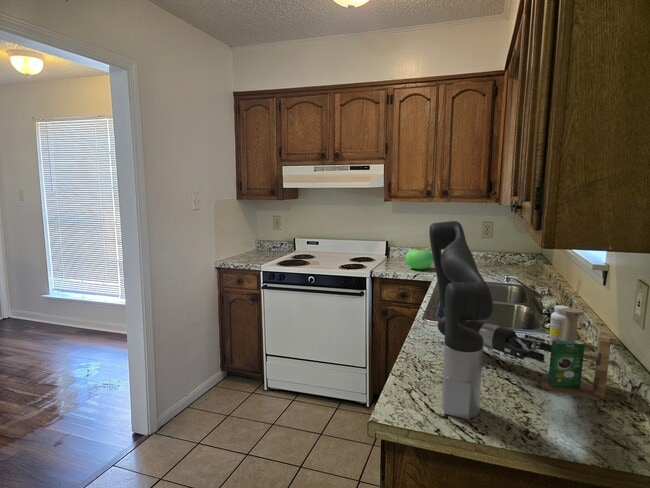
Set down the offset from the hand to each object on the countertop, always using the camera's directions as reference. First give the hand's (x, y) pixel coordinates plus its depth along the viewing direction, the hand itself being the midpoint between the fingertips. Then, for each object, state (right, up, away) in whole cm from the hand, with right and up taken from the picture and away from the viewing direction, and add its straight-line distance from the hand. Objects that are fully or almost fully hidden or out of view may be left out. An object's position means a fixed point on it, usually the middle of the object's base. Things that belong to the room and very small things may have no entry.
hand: (550, 354), depth 119 cm
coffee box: (+3, -8, -2) cm, 9 cm away
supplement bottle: (+20, -4, +31) cm, 38 cm away
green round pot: (-3, +15, +155) cm, 156 cm away
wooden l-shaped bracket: (+5, -9, -1) cm, 10 cm away
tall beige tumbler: (+18, -5, +21) cm, 28 cm away
